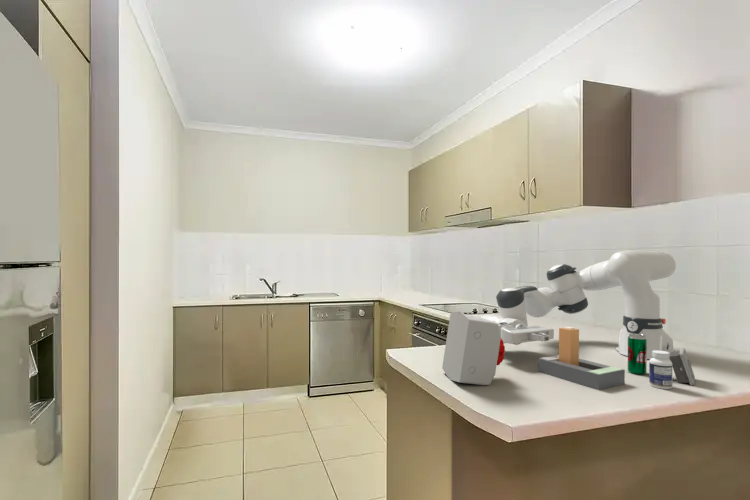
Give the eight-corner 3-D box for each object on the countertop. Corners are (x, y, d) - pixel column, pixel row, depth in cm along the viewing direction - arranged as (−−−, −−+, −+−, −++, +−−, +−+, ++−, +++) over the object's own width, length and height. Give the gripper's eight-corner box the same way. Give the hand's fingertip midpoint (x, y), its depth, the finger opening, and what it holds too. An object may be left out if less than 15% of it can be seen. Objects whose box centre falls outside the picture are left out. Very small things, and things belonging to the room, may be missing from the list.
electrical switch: (694, 386, 118) (690, 353, 119) (671, 384, 121) (668, 352, 122) (695, 379, 125) (691, 347, 126) (674, 377, 129) (670, 347, 129)
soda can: (639, 376, 128) (640, 336, 128) (623, 371, 132) (624, 333, 132) (650, 374, 130) (650, 335, 130) (634, 370, 135) (634, 332, 135)
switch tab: (567, 367, 131) (567, 325, 132) (578, 371, 128) (579, 328, 128) (558, 369, 130) (559, 326, 130) (570, 372, 126) (570, 328, 126)
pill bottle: (650, 382, 121) (650, 348, 122) (673, 386, 118) (673, 351, 118) (648, 386, 117) (648, 351, 117) (671, 390, 114) (671, 355, 114)
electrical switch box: (508, 393, 117) (519, 322, 118) (458, 387, 115) (469, 314, 115) (486, 377, 131) (495, 314, 132) (441, 372, 129) (451, 308, 130)
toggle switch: (563, 366, 137) (563, 354, 137) (624, 383, 120) (624, 369, 120) (538, 371, 131) (538, 358, 131) (598, 389, 114) (598, 374, 114)
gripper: (534, 338, 153) (567, 345, 141) (492, 342, 143) (524, 351, 131) (534, 320, 153) (567, 326, 141) (493, 324, 143) (525, 331, 131)
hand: (546, 338), depth 136 cm, fingers closed
